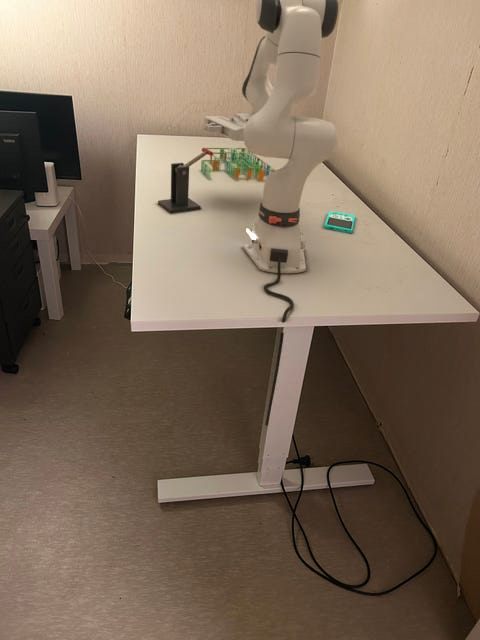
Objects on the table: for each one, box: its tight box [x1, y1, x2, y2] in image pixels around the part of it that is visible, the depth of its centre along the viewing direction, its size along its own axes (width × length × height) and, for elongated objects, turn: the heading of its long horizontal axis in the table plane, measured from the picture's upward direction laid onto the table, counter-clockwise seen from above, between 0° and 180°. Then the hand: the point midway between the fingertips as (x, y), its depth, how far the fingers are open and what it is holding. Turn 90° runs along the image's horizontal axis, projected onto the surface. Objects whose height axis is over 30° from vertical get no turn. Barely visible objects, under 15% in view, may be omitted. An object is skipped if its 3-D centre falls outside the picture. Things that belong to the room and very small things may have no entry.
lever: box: [174, 147, 214, 174], centre depth 161 cm, size 14×5×2 cm, turn 124°
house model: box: [200, 147, 276, 182], centre depth 211 cm, size 35×30×5 cm
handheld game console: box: [323, 211, 356, 234], centre depth 169 cm, size 10×16×1 cm, turn 164°
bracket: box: [157, 162, 201, 214], centre depth 163 cm, size 12×10×15 cm
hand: (206, 128), depth 157 cm, fingers closed
